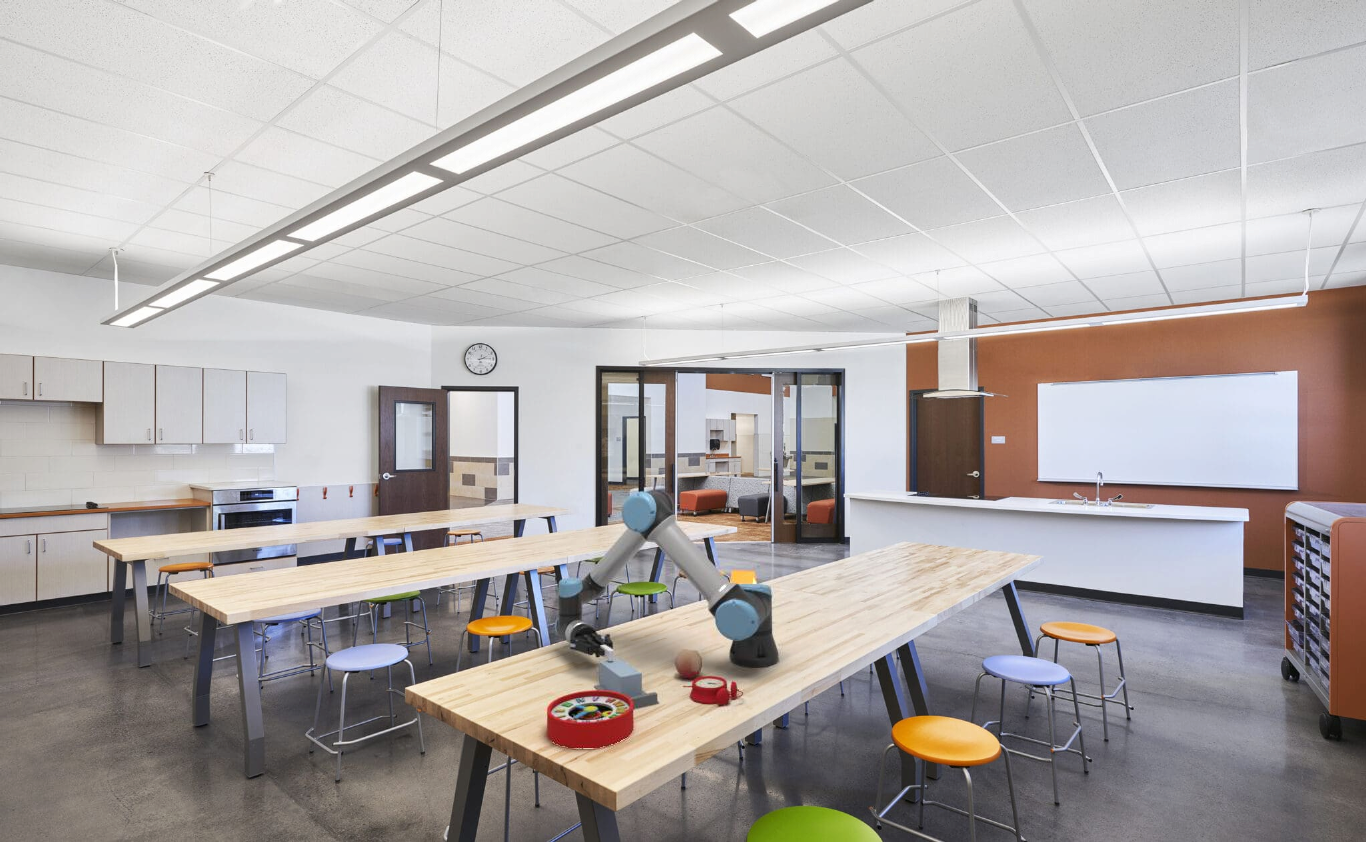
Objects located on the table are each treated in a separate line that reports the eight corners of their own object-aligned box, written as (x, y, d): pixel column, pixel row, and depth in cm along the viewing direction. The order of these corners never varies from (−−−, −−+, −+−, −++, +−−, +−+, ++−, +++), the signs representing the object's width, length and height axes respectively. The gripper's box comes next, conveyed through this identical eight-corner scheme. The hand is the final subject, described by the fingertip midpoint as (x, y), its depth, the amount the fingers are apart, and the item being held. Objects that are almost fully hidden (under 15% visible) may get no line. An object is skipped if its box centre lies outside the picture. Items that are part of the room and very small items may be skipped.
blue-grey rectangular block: (599, 661, 184) (620, 677, 171) (618, 658, 187) (641, 673, 174) (599, 683, 183) (621, 700, 170) (619, 679, 186) (642, 696, 173)
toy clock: (650, 699, 157) (596, 730, 140) (650, 724, 157) (596, 758, 140) (585, 685, 167) (528, 712, 151) (586, 708, 167) (528, 738, 150)
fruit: (705, 673, 191) (705, 645, 192) (698, 683, 184) (698, 653, 184) (679, 671, 193) (678, 643, 194) (671, 680, 186) (670, 652, 186)
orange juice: (753, 628, 238) (751, 573, 239) (729, 626, 241) (728, 571, 242) (758, 623, 246) (757, 569, 246) (735, 621, 249) (734, 568, 250)
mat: (593, 686, 182) (593, 677, 182) (626, 680, 186) (626, 671, 187) (623, 711, 164) (623, 701, 164) (659, 703, 169) (659, 693, 169)
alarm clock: (698, 673, 181) (746, 669, 174) (703, 697, 180) (751, 694, 173) (678, 685, 172) (727, 681, 165) (683, 710, 171) (733, 707, 164)
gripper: (601, 644, 206) (633, 665, 186) (561, 651, 200) (589, 673, 179) (600, 620, 206) (632, 638, 186) (560, 626, 200) (589, 645, 180)
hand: (611, 655), depth 183 cm, fingers closed
